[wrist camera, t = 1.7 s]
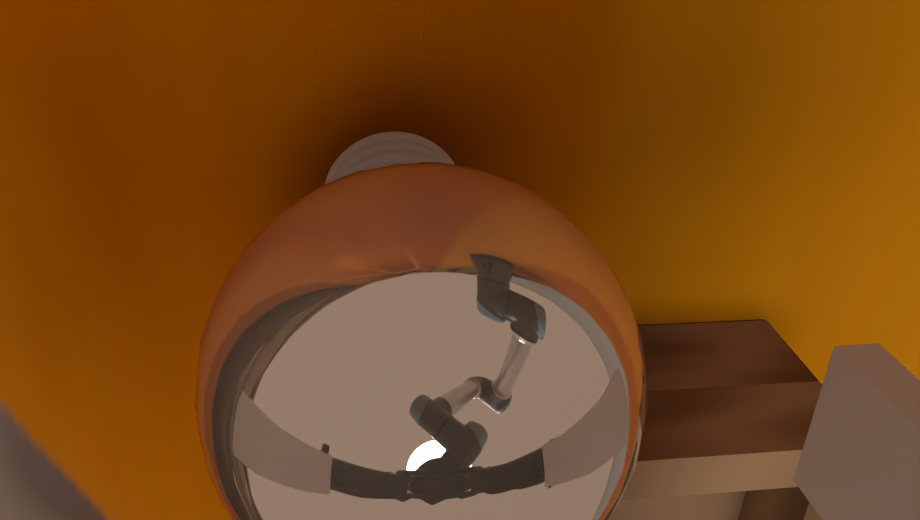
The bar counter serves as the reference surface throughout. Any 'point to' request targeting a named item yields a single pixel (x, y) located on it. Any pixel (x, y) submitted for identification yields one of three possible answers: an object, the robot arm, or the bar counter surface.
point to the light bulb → (420, 354)
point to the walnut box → (721, 425)
